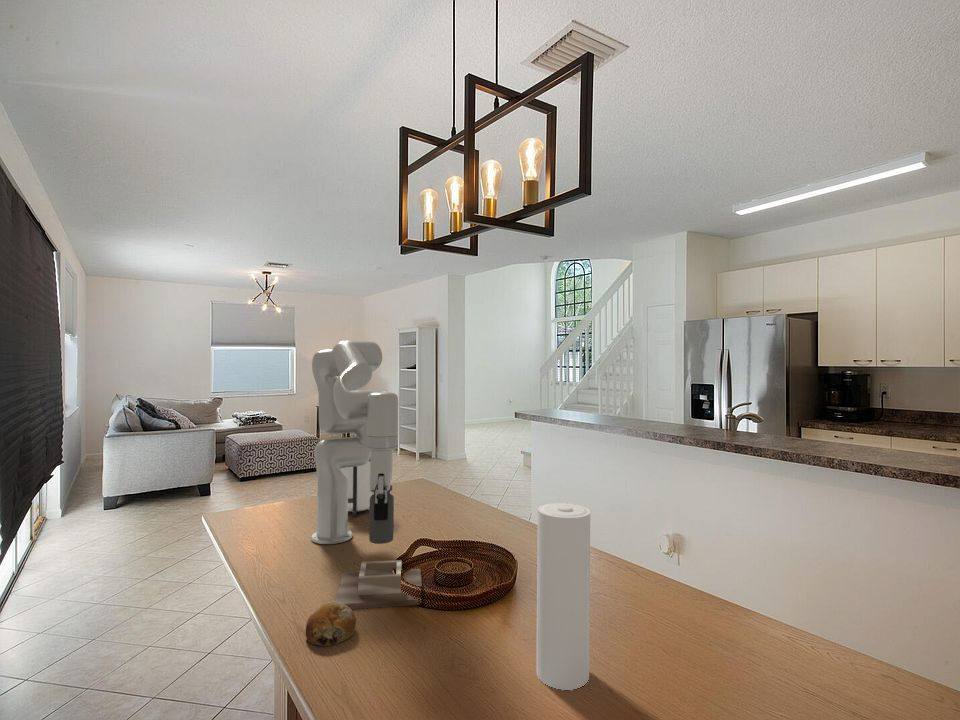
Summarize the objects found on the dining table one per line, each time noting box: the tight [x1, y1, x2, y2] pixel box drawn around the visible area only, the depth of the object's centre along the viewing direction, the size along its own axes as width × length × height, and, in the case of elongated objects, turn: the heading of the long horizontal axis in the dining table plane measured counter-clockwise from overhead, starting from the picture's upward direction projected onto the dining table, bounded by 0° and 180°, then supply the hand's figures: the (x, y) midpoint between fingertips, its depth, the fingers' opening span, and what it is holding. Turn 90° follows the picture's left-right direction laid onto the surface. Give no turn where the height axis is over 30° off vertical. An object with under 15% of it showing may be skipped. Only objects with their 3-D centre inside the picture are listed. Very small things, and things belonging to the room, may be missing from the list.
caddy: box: [334, 559, 423, 610], centre depth 126 cm, size 18×20×5 cm
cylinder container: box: [535, 502, 591, 691], centre depth 92 cm, size 9×9×30 cm
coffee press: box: [340, 433, 374, 518], centre depth 191 cm, size 17×16×30 cm
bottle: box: [368, 479, 395, 545], centre depth 126 cm, size 6×6×15 cm
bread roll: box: [305, 601, 357, 647], centre depth 106 cm, size 10×10×8 cm
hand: (381, 515), depth 126 cm, fingers closed on bottle, 5 cm apart
